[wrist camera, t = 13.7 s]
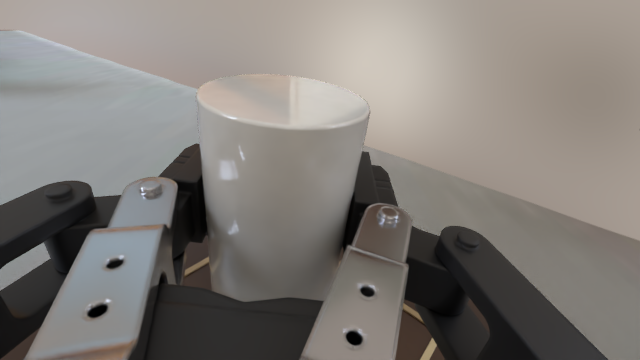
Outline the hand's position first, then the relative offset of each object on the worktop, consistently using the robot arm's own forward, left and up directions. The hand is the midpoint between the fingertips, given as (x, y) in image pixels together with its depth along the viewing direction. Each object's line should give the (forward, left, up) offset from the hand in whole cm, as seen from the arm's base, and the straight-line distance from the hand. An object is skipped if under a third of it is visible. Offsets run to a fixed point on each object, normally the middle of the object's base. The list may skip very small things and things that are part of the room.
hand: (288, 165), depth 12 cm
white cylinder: (+2, +2, -6) cm, 7 cm away
